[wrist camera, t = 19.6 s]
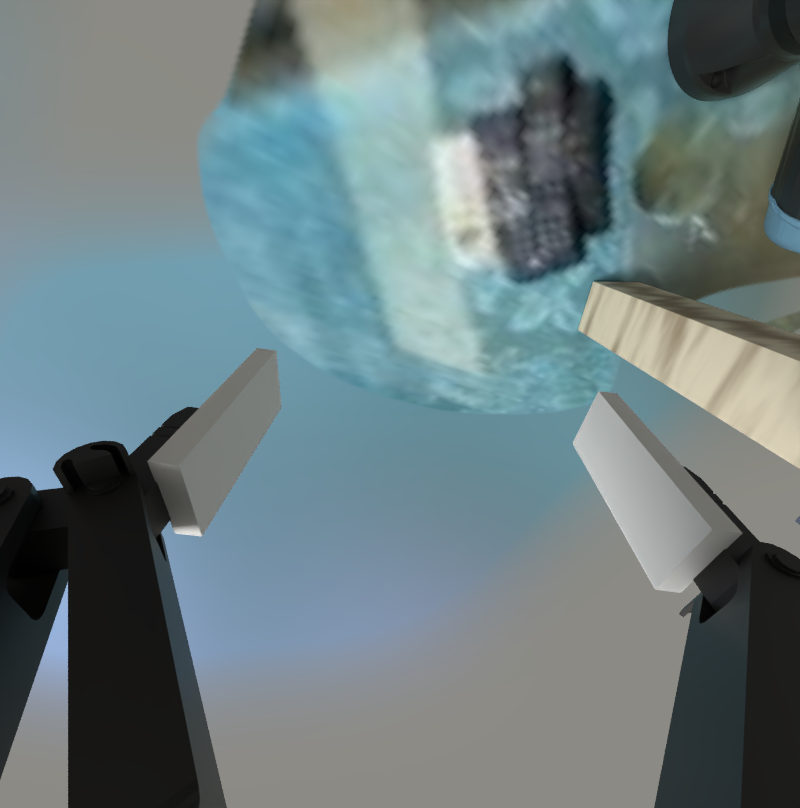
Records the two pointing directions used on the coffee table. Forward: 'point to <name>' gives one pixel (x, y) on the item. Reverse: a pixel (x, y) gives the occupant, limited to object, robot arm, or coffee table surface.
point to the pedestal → (706, 357)
